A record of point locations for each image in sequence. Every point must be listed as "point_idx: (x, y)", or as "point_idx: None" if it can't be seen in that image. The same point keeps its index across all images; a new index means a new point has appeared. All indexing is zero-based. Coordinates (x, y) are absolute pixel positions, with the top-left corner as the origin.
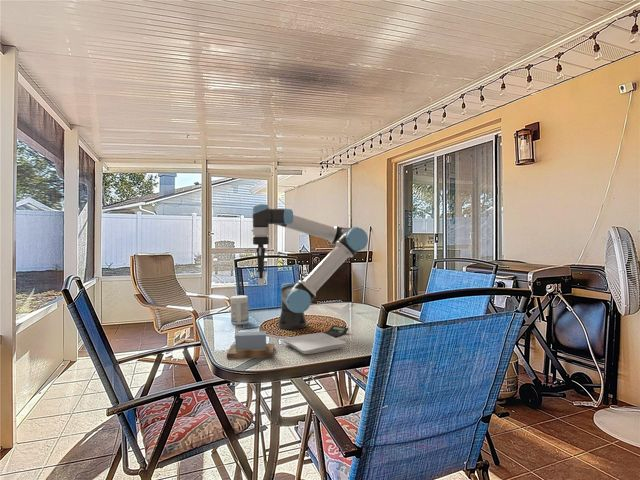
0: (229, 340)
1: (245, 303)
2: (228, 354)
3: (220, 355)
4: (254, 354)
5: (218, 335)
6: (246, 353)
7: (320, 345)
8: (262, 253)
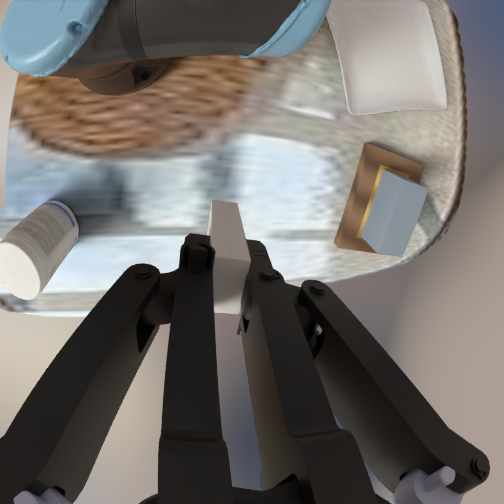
0: None
1: (37, 238)
2: None
3: (361, 262)
4: None
5: None
6: None
7: (389, 35)
8: (479, 450)
